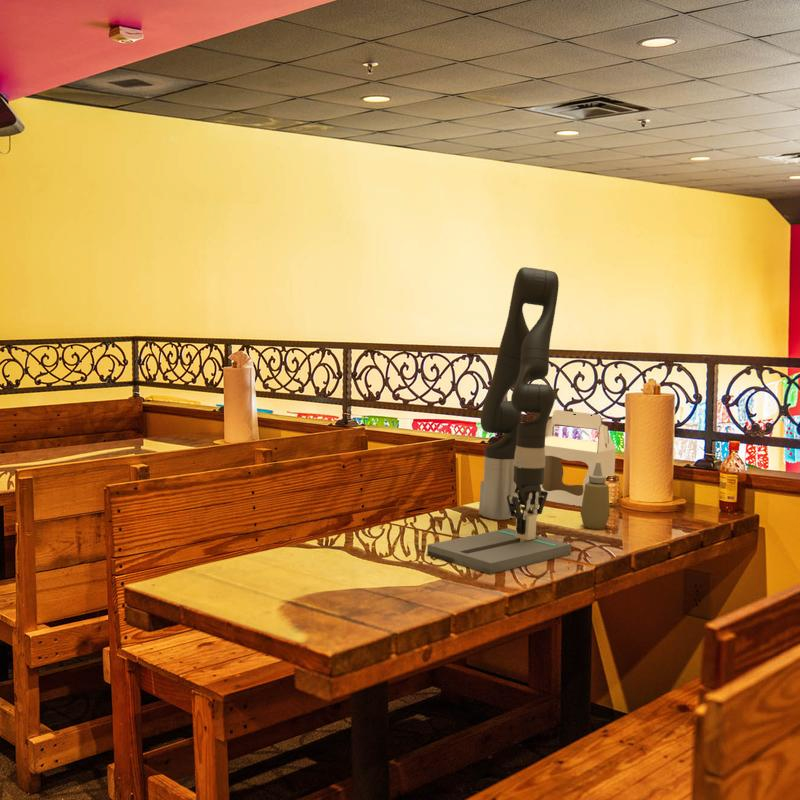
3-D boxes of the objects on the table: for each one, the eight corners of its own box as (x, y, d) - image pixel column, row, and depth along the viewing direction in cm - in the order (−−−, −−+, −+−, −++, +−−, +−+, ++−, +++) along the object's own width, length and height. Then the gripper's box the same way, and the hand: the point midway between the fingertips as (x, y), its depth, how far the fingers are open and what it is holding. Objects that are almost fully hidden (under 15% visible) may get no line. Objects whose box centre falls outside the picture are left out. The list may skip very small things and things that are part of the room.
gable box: (613, 503, 304) (619, 414, 301) (594, 509, 294) (600, 417, 291) (550, 492, 317) (555, 407, 315) (530, 498, 307) (535, 410, 304)
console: (427, 554, 232) (427, 543, 232) (507, 537, 253) (508, 527, 253) (490, 574, 218) (491, 562, 218) (570, 554, 239) (571, 543, 239)
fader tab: (514, 542, 242) (516, 513, 242) (522, 540, 245) (524, 511, 244) (527, 545, 240) (529, 516, 239) (535, 544, 242) (536, 514, 241)
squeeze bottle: (611, 531, 266) (616, 466, 264) (582, 529, 266) (586, 464, 264) (606, 524, 274) (610, 461, 272) (577, 523, 274) (581, 460, 272)
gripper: (535, 459, 248) (531, 526, 249) (499, 464, 238) (495, 533, 240) (558, 464, 242) (554, 532, 244) (523, 469, 233) (519, 539, 234)
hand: (525, 532), depth 242 cm, fingers closed on fader tab, 3 cm apart
